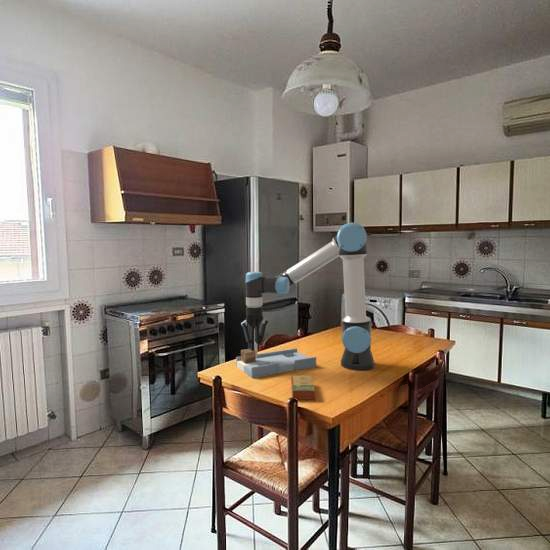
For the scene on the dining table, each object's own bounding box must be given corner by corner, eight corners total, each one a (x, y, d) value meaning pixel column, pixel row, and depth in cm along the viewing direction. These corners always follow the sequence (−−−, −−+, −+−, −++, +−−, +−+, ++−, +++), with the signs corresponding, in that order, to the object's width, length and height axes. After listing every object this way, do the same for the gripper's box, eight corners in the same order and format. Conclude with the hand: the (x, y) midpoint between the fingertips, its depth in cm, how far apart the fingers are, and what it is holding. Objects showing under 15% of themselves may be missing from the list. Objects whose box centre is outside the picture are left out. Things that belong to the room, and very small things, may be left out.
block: (255, 362, 180) (255, 351, 180) (245, 363, 178) (245, 352, 177) (251, 359, 185) (250, 348, 184) (241, 360, 182) (240, 350, 182)
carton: (311, 385, 160) (311, 375, 159) (315, 401, 144) (315, 390, 143) (291, 385, 160) (291, 375, 159) (292, 401, 144) (292, 390, 143)
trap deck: (316, 366, 182) (316, 357, 182) (252, 378, 168) (252, 367, 167) (296, 357, 198) (296, 348, 198) (236, 366, 183) (236, 357, 183)
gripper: (263, 303, 186) (263, 353, 188) (237, 306, 180) (238, 357, 183) (270, 306, 180) (271, 357, 182) (244, 308, 174) (245, 361, 176)
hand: (254, 357), depth 182 cm, fingers closed
